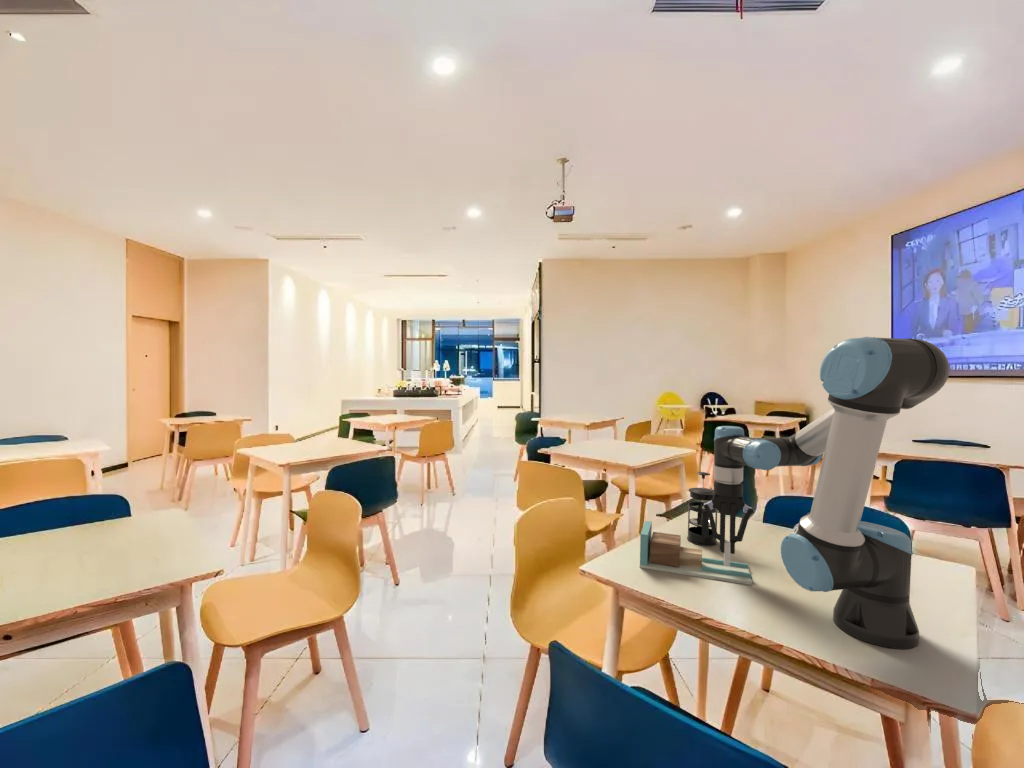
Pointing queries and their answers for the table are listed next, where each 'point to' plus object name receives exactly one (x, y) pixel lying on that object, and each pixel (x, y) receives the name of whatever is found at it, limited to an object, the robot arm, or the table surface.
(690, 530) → the french press
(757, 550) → the table surface
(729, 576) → the railed board with endplate
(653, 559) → the block
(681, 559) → the light wood bar
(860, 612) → the robot arm
